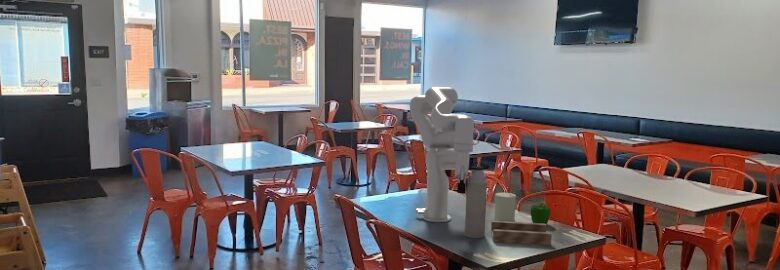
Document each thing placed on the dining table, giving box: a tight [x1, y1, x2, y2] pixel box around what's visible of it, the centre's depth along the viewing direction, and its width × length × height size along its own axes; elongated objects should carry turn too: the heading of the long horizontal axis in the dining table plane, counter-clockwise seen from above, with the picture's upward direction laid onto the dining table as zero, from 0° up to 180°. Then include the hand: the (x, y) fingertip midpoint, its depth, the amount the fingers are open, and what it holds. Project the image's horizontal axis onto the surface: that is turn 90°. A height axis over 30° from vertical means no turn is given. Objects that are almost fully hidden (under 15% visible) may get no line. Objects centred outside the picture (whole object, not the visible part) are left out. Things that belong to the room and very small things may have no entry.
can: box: [493, 192, 517, 222], centre depth 264 cm, size 9×9×12 cm
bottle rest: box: [490, 220, 552, 246], centre depth 237 cm, size 22×15×4 cm
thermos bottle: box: [464, 165, 488, 239], centre depth 237 cm, size 8×8×28 cm
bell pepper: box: [529, 201, 551, 225], centre depth 259 cm, size 8×8×10 cm
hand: (461, 192), depth 238 cm, fingers closed
